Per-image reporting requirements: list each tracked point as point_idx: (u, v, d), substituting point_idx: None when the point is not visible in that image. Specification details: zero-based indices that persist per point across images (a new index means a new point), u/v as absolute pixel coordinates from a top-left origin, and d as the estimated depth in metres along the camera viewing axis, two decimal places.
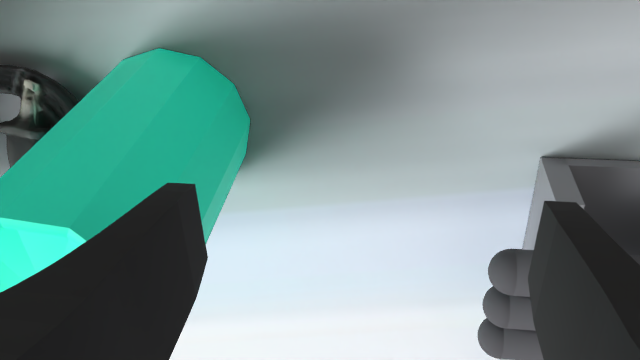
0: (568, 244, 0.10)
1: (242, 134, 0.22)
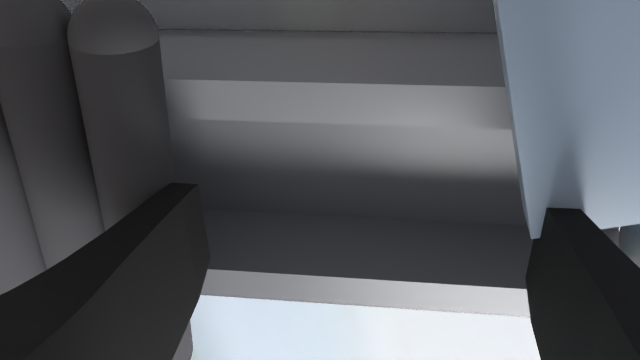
0: (565, 244, 0.10)
1: None
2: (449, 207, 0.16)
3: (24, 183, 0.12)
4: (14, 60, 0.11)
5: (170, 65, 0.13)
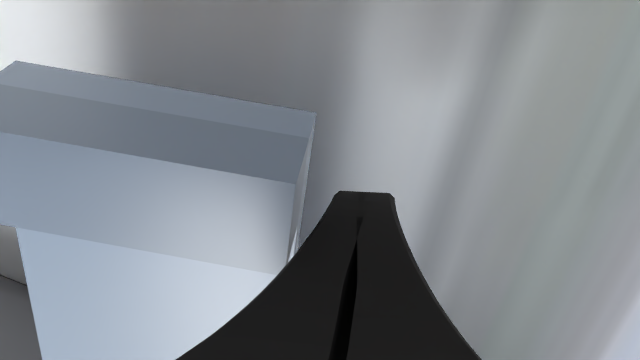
0: None
1: None
2: None
3: None
4: None
5: None
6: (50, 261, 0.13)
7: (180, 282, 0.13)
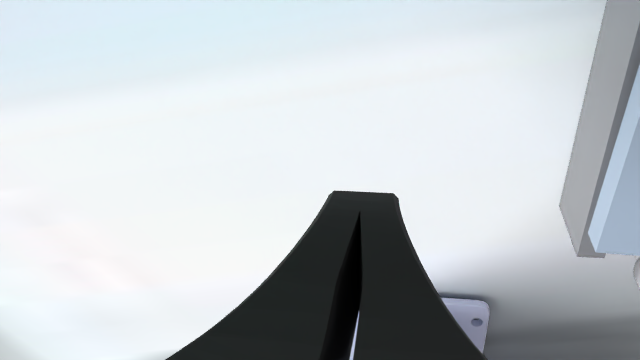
0: (360, 232, 0.11)
1: None
2: None
3: None
4: None
5: None
6: None
7: None
